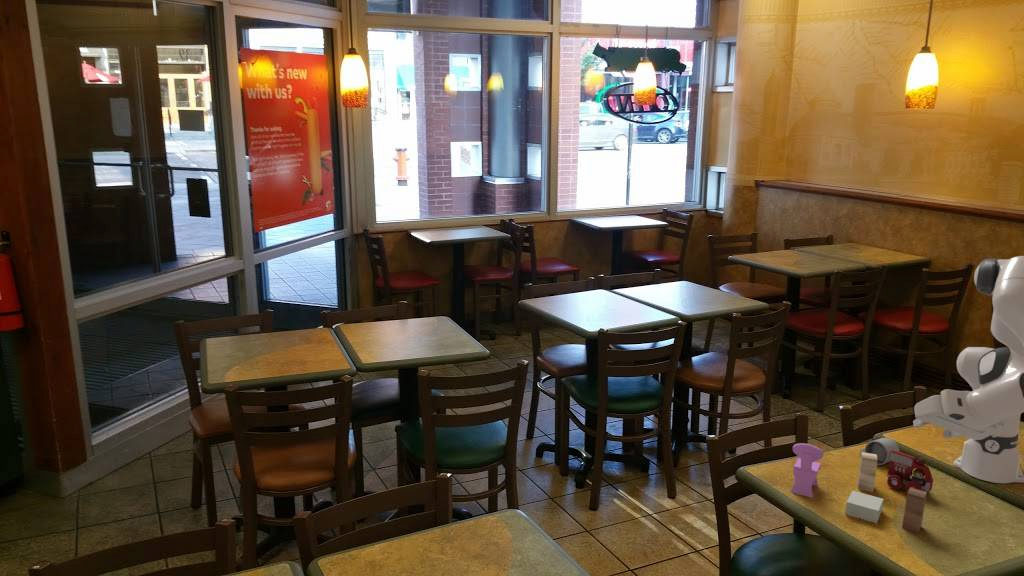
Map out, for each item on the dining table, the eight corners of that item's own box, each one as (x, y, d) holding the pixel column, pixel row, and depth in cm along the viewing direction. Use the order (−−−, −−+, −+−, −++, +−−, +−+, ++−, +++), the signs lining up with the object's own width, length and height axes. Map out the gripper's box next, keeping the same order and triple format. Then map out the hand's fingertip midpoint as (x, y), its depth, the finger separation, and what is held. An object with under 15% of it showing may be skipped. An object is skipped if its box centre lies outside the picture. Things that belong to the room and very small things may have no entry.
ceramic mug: (899, 462, 243) (902, 439, 241) (886, 469, 238) (888, 445, 237) (867, 451, 251) (870, 428, 250) (853, 457, 246) (856, 434, 245)
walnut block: (904, 521, 208) (910, 487, 205) (921, 526, 205) (926, 492, 203) (902, 527, 204) (907, 493, 202) (918, 532, 202) (924, 498, 200)
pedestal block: (850, 503, 217) (852, 490, 216) (881, 512, 213) (883, 498, 212) (844, 515, 211) (846, 501, 210) (876, 524, 206) (878, 510, 206)
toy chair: (822, 486, 226) (827, 438, 223) (816, 498, 219) (822, 449, 215) (792, 479, 230) (798, 432, 227) (786, 491, 223) (791, 443, 220)
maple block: (857, 483, 229) (861, 452, 226) (872, 485, 227) (876, 454, 225) (858, 489, 225) (862, 457, 223) (873, 491, 224) (877, 460, 221)
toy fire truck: (925, 500, 219) (930, 467, 217) (880, 485, 228) (885, 452, 226) (934, 492, 224) (939, 459, 222) (889, 477, 233) (894, 445, 230)
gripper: (1006, 411, 191) (960, 430, 203) (940, 386, 187) (897, 407, 198) (1011, 435, 188) (964, 452, 199) (943, 410, 184) (899, 429, 195)
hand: (930, 429), depth 199 cm, fingers open, 8 cm apart
